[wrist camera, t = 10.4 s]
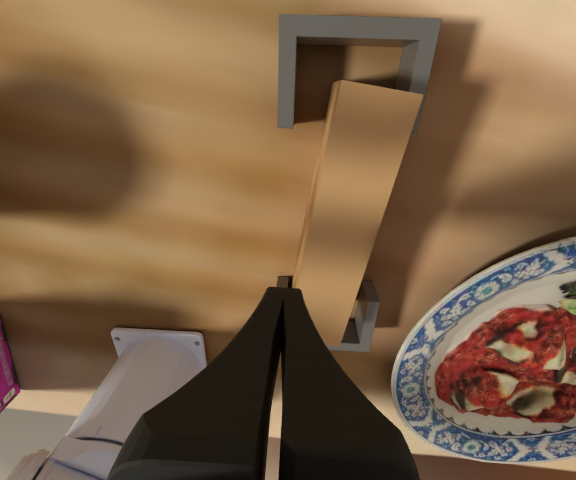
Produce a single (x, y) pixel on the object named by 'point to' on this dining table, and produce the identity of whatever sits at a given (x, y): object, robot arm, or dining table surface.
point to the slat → (349, 197)
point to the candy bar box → (6, 373)
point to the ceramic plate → (497, 363)
